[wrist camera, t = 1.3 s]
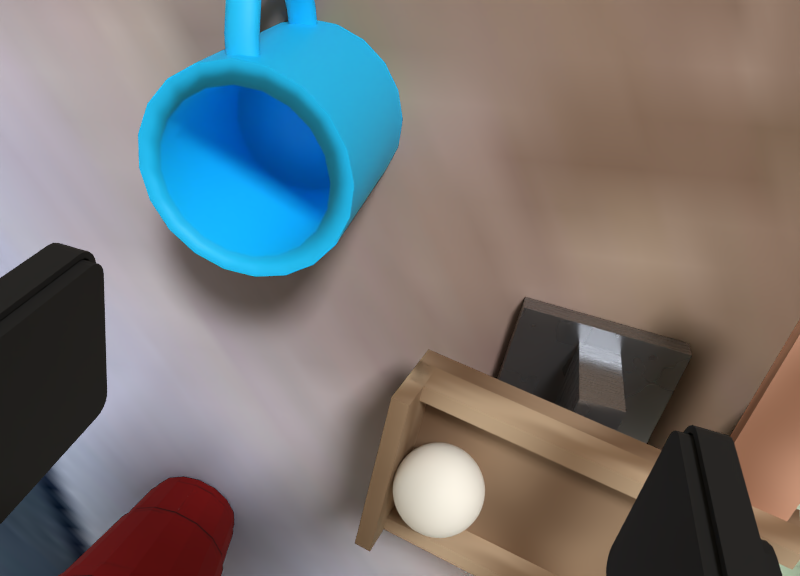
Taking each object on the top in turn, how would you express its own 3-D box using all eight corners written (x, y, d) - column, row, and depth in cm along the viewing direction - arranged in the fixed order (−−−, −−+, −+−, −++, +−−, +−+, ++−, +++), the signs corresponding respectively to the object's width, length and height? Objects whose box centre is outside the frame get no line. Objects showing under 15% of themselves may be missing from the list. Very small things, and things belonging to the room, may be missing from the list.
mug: (402, 204, 34) (357, 287, 27) (240, 190, 35) (157, 266, 28) (403, -82, 28) (345, -71, 21) (208, -84, 30) (94, -74, 23)
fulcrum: (689, 343, 34) (706, 415, 30) (602, 513, 40) (606, 594, 36) (525, 296, 35) (517, 360, 30) (465, 471, 41) (450, 545, 36)
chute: (941, 310, 23) (971, 374, 20) (704, 643, 33) (698, 723, 29) (482, 151, 27) (445, 182, 24) (390, 488, 37) (354, 543, 34)
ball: (508, 450, 31) (475, 509, 28) (484, 512, 33) (451, 574, 30) (427, 410, 33) (386, 462, 29) (409, 472, 35) (368, 527, 31)
